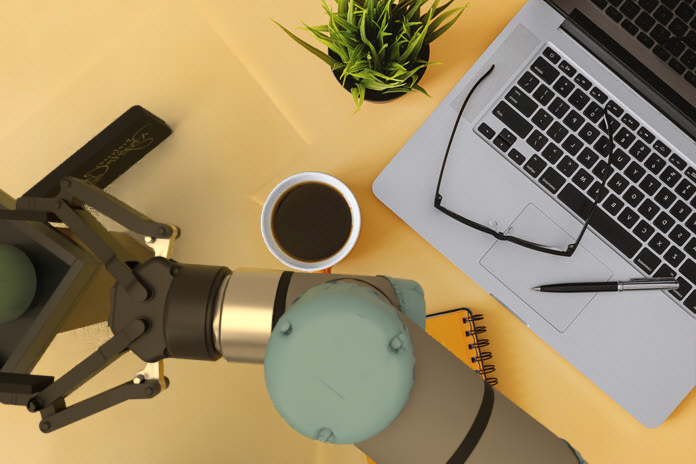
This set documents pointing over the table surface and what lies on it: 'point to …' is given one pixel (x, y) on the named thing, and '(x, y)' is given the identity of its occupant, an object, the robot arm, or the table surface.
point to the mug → (15, 282)
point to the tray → (43, 288)
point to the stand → (100, 285)
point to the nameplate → (108, 152)
